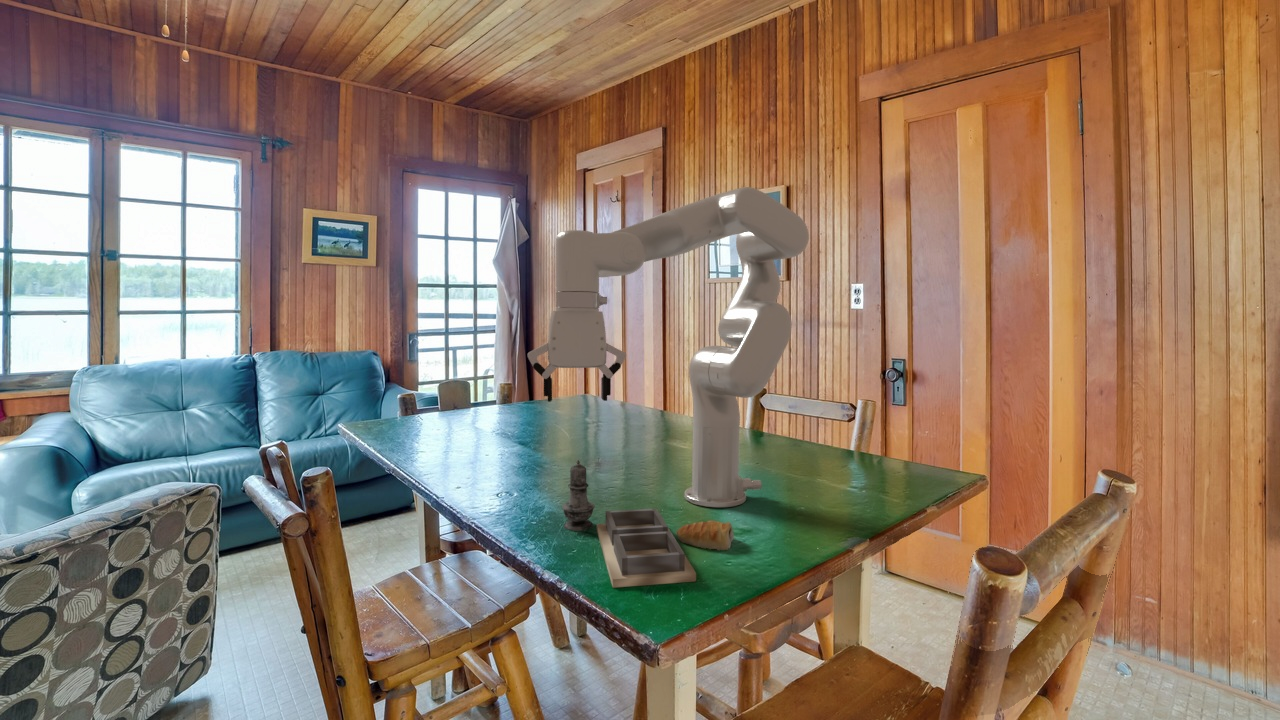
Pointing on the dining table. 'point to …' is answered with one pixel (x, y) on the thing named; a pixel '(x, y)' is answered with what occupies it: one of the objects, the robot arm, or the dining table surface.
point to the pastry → (707, 535)
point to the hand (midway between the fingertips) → (577, 400)
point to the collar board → (642, 550)
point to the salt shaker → (578, 501)
